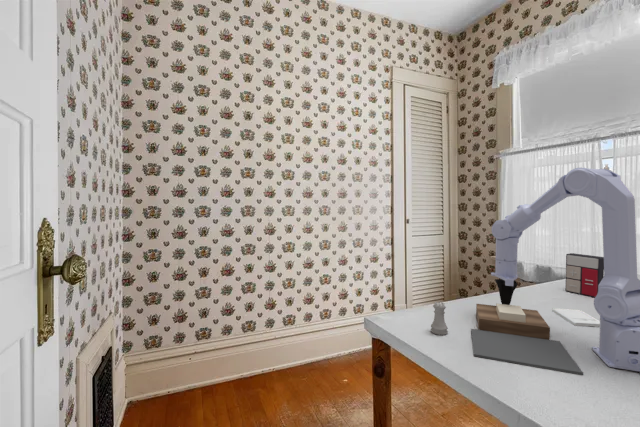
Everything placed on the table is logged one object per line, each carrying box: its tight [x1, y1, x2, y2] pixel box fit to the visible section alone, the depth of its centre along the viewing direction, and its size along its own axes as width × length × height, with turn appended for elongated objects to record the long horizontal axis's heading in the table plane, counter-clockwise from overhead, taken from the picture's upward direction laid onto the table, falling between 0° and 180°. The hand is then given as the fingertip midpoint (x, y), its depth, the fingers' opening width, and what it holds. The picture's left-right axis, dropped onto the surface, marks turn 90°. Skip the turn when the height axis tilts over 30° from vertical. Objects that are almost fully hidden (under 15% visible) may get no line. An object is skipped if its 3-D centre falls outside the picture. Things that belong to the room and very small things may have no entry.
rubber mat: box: [470, 328, 584, 376], centre depth 75 cm, size 16×20×1 cm
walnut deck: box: [475, 303, 551, 340], centre depth 89 cm, size 14×16×4 cm
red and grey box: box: [564, 252, 604, 299], centre depth 121 cm, size 11×4×15 cm, turn 25°
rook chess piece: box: [430, 301, 449, 336], centre depth 85 cm, size 4×4×8 cm
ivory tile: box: [495, 303, 526, 323], centre depth 88 cm, size 8×6×2 cm
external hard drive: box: [551, 308, 600, 328], centre depth 95 cm, size 2×8×12 cm
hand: (505, 304), depth 96 cm, fingers closed
